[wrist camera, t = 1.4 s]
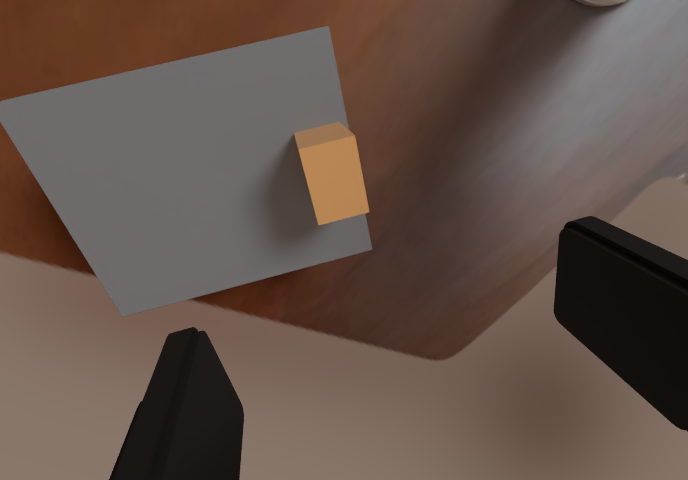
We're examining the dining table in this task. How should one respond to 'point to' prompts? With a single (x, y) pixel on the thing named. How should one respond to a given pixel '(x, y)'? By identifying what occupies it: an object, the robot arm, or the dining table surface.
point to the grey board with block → (200, 169)
